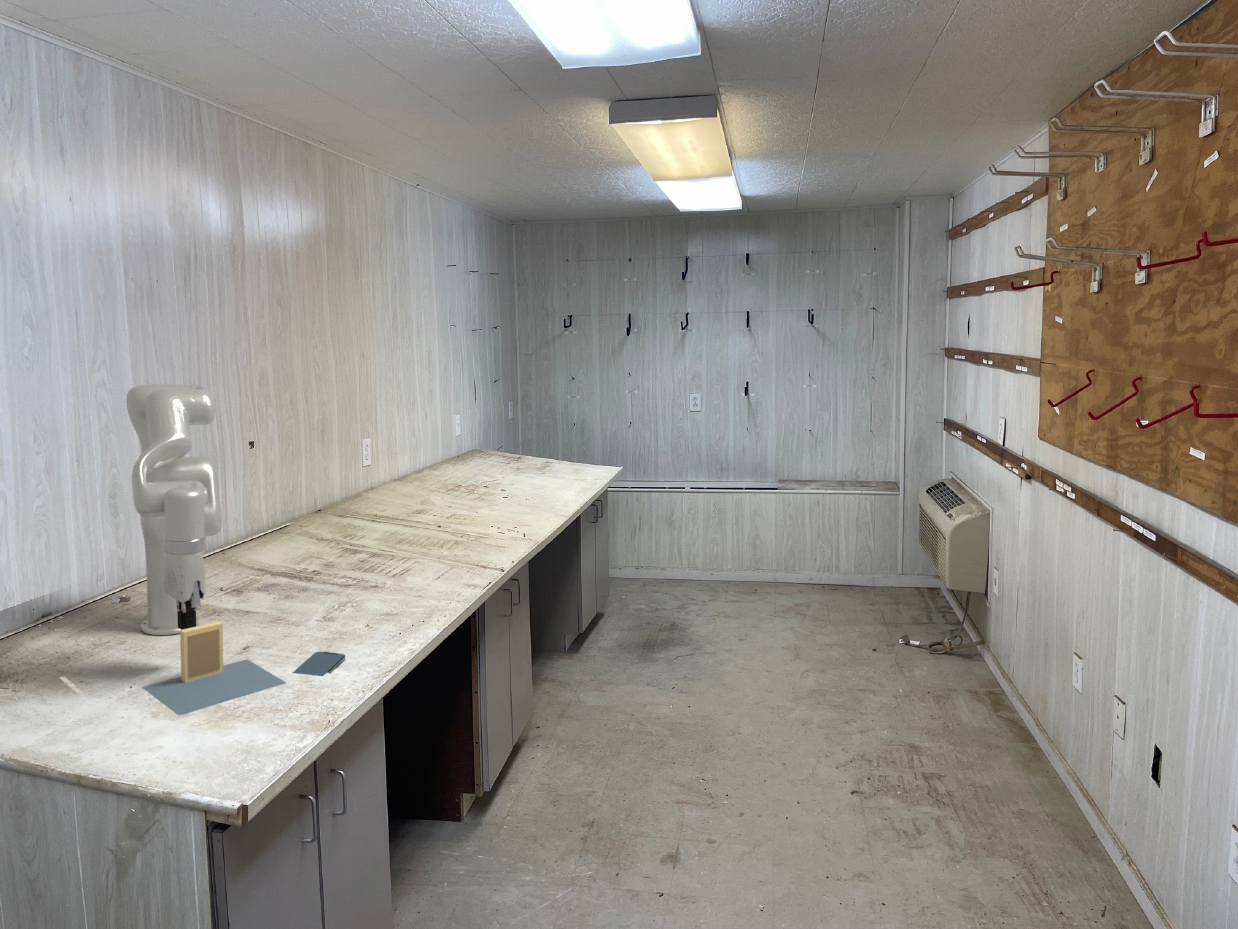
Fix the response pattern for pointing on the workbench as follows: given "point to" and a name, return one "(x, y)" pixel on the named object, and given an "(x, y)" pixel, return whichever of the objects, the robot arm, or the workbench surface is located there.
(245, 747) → the workbench surface
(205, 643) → the beige rectangular block
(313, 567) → the workbench surface
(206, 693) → the rubber mat
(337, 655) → the smartphone
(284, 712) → the workbench surface
